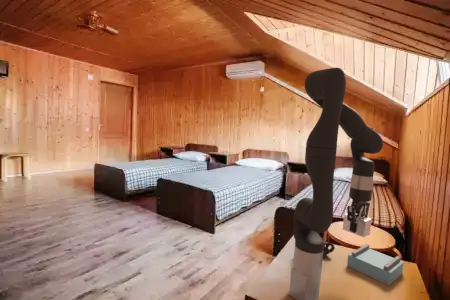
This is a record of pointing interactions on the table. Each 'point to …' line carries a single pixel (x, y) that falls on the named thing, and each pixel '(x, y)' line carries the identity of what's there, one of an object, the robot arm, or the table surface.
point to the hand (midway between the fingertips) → (356, 230)
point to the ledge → (376, 264)
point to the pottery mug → (326, 250)
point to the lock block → (358, 225)
